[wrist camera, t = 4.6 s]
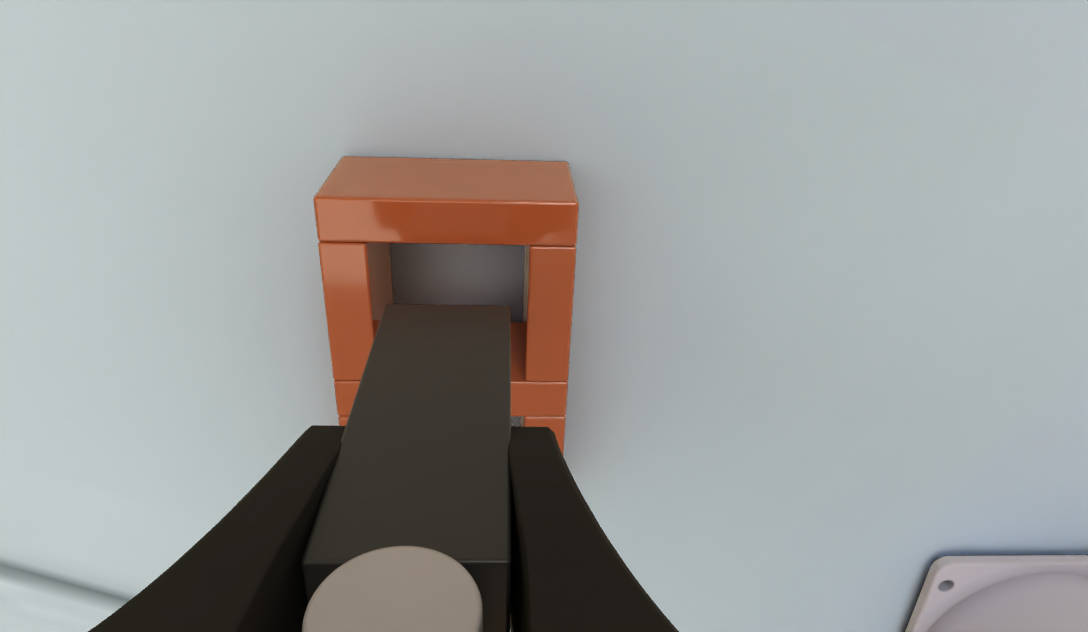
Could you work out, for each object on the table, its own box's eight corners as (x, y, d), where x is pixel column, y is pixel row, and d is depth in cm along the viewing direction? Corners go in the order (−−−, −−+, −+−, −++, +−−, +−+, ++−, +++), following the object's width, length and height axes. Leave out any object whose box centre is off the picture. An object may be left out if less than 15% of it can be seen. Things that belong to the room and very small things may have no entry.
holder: (551, 477, 22) (557, 552, 20) (371, 477, 22) (352, 553, 19) (568, 160, 18) (579, 202, 15) (341, 155, 17) (312, 196, 15)
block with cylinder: (508, 419, 15) (507, 863, 8) (392, 418, 15) (287, 869, 8) (510, 290, 14) (512, 688, 7) (383, 288, 14) (244, 692, 7)
